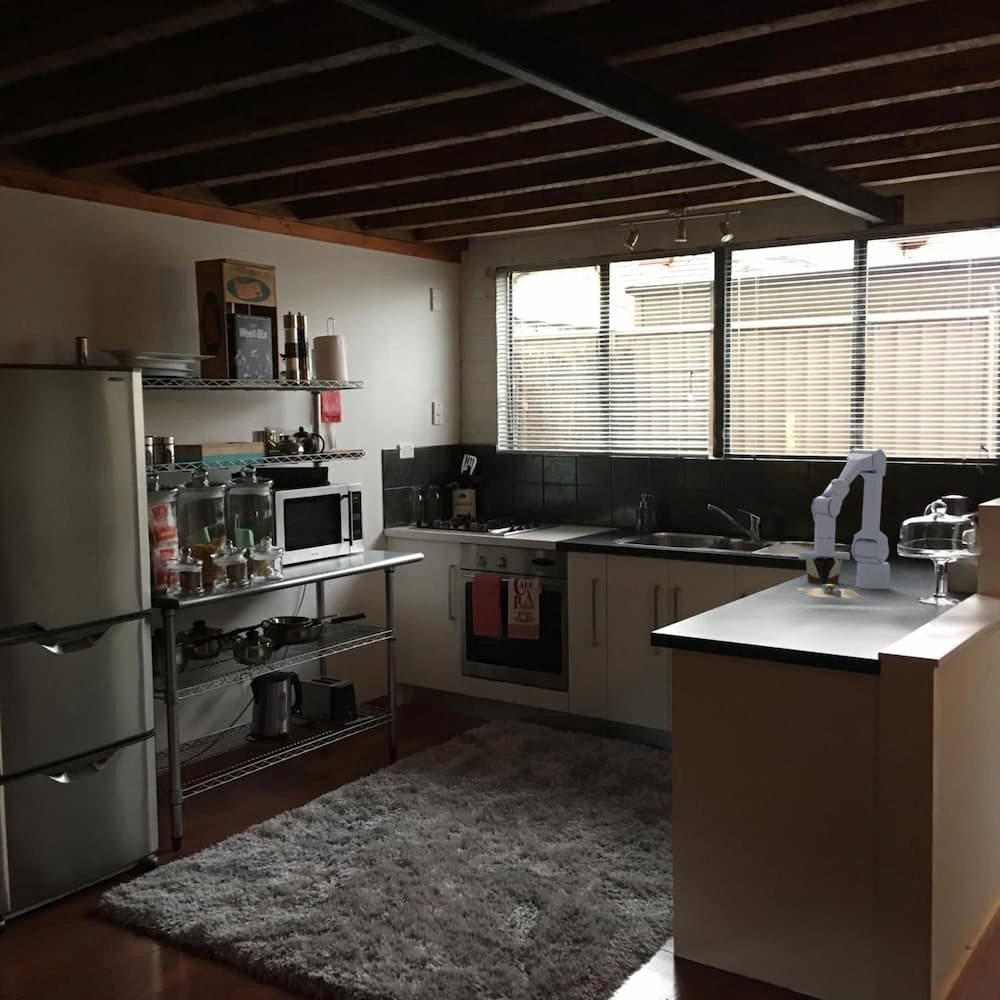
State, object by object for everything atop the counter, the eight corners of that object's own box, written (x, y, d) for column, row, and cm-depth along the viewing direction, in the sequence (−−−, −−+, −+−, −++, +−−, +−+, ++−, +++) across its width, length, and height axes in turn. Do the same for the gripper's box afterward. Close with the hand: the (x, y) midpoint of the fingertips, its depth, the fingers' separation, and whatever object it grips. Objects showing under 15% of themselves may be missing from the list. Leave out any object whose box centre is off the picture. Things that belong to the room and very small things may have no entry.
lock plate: (849, 592, 330) (850, 581, 330) (864, 601, 314) (865, 589, 314) (796, 591, 331) (797, 580, 330) (809, 600, 315) (809, 588, 314)
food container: (838, 583, 347) (840, 552, 347) (843, 586, 341) (844, 554, 341) (799, 582, 349) (800, 551, 348) (803, 585, 343) (804, 553, 342)
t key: (818, 589, 328) (818, 584, 328) (831, 589, 328) (831, 584, 328) (831, 596, 316) (831, 590, 316) (845, 596, 316) (845, 590, 316)
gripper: (804, 539, 312) (803, 585, 313) (854, 539, 312) (852, 585, 314) (797, 536, 319) (795, 581, 320) (845, 536, 319) (843, 581, 321)
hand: (823, 583), depth 317 cm, fingers closed
